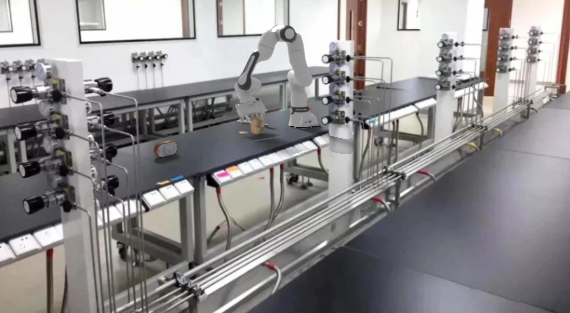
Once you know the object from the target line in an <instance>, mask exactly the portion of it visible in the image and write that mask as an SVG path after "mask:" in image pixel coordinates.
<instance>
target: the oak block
mask: <svg viewBox="0 0 570 313" xmlns="http://www.w3.org/2000/svg"><path fill="white" fill-rule="evenodd" d="M264 131H265V126H264V117H263V118H261V117H260V116H258V117H256V116H254V117H252V118H251V124H250V133H251V134H253V135H261V134H264Z"/></svg>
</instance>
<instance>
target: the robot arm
mask: <svg viewBox="0 0 570 313" xmlns="http://www.w3.org/2000/svg"><path fill="white" fill-rule="evenodd" d="M278 42H280V43H286V46H287V54H288V61H289V64H290V66H291V68H292V69H290V70H289V71H288V72H287V75H286V78H287V80H288V83H289V89H290V108H289V109H290V110H289V111H290V112H289V113H290V115H289V116H290V118H289V122H288V125H289V126H288V127H290V126H294V127H293V128H296V127H308V126H310V125H315V124H317V123H318V120H317V119H318V118H317V116H316V115H315V114H313V113H312V112H311V110H312V108H313V107H312V106H308V93H307V92H306V88H307V87H309V86H311V85H312V83H313V76H312V74H311V72H310V70H309V66H308V63H307V60H306V52H305V46H304V41H303V38H302V35H301V34H300V33H298V32H296V30H295V28H294V27H293V26H292V25H288V24H276V25H274V26H273V27H271V29H266V30H264V31H263V33H262V34H261V36H260V38H259V40H258V43H257V46H256V47H255V49H254V51H253V52H251V54H250V55H249V58H248V60H247V62H246V64H245V66H244V68H243V70H242V72H241V73H240V75H239V77H238V78H237V81H236V82H235V83H234V86H233V87H234V92H235V94H236V96H237V98H238V99H239V102H240V103H236V104H235V109H236V112H237V115H238V116H239V118H240V117H241V118H242V116H244V119H245V120H246V119H248V121H251V115H254V116H256V115H257V114H258V115H259V117H261V118H264V113H265V114H266V112H267V111H266V110H267V108H266V106H265V104H264V102H262V100H261V98H260V97H255V96H253V95H255V94H257V93H258V92H260V90H261V88H262V82H261V80H260V79H258V78H256V77H253V73H254V71H255V68H256V66H257V65H258V64H259V63H260V62H265V61H268V60H269V59H271V58H272V56H273V54H274V50H275V46H276V45H277V43H278ZM248 116H249V117H248Z"/></svg>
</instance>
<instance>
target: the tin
mask: <svg viewBox="0 0 570 313" xmlns="http://www.w3.org/2000/svg"><path fill="white" fill-rule="evenodd" d="M178 150H179V145H178V142H177V141H175V140H173V139H169V140H163V141H159V142H157V143H156V144H155V146H154V147H153V153H154V156H155V157H157V158H160V157H162V158H166V157H165V156H167V157H169V156H174V155H176V154H177V152H178Z"/></svg>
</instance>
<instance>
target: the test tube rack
mask: <svg viewBox="0 0 570 313" xmlns="http://www.w3.org/2000/svg"><path fill="white" fill-rule="evenodd" d="M268 111H269V109H266V112H268ZM266 112H265V113H264V114H263V118H264V127H266V126H265V125H267V126H269V124H268V123H266ZM248 117H251V118H252V117H259V114H257V115H250V116H248ZM236 122H238V123H243V122H244V123H245V124H249V125H251V121H248V119H246V118H245V116H242V117H240V116H239V119H238V120H236Z"/></svg>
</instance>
